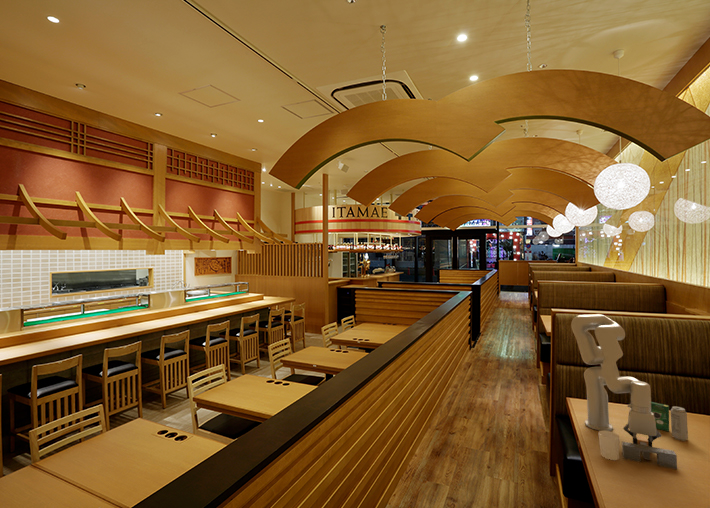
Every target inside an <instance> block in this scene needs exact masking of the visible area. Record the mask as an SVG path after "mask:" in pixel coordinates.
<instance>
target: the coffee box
mask: <svg viewBox="0 0 710 508" xmlns="http://www.w3.org/2000/svg"><path fill="white" fill-rule="evenodd" d="M651 412H652V413H653V414H654V417H655V423H656V429H657V430H660V431H661V430H662V431H665V432H670V406H669V405H668V404H664V403H658V402H654V401H651Z"/></svg>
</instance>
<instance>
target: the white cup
mask: <svg viewBox="0 0 710 508" xmlns="http://www.w3.org/2000/svg"><path fill="white" fill-rule="evenodd" d="M598 444H599V445H598V446H599V449H600V456H601V455H602V456H603V457H602V456H601V457H602V458H604V457H605V459H606V460H609V459H610V460H609V461H618V460H619V459H620V456H619V455H620V454H619V453H620V436H619V434H617V433H616V432H613V431H598ZM617 459H618V460H617Z"/></svg>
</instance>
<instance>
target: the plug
mask: <svg viewBox="0 0 710 508" xmlns="http://www.w3.org/2000/svg"><path fill="white" fill-rule="evenodd" d="M636 438H637V444H639V445H644V446H649V443H648V440H647V439H648V437H645V436H640V435H636ZM640 453H641V454H642V456H643V457H642V458H643V459H644V460H649V461H651V453H650V452H644V451H640Z"/></svg>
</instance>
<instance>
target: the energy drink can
mask: <svg viewBox="0 0 710 508" xmlns="http://www.w3.org/2000/svg"><path fill="white" fill-rule="evenodd" d="M670 420H671V421H670V422H671V424H670V425H671V436H672V437H673V438H674V439H675V440H677V441H680V440H681V442H687V440H688V439H689V432H688V414H687V411H686V409H685V408H684V407H681V406H675V405H674V406H672V407H671V409H670Z"/></svg>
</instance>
